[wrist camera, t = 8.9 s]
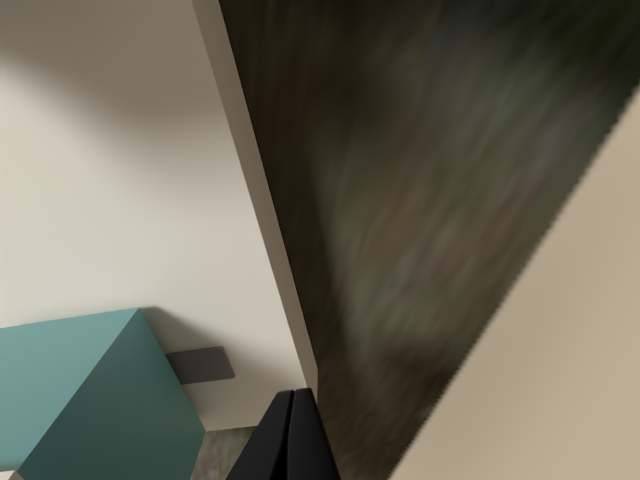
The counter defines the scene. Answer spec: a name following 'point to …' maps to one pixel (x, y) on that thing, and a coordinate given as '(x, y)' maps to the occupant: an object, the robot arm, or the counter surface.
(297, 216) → the counter surface
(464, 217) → the counter surface
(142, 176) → the slotted slider plate
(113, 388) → the teal knob
